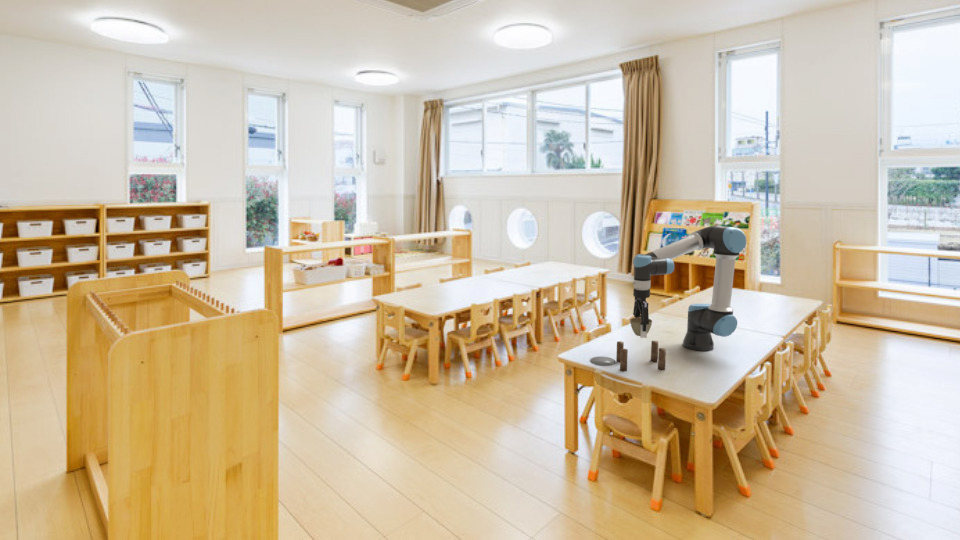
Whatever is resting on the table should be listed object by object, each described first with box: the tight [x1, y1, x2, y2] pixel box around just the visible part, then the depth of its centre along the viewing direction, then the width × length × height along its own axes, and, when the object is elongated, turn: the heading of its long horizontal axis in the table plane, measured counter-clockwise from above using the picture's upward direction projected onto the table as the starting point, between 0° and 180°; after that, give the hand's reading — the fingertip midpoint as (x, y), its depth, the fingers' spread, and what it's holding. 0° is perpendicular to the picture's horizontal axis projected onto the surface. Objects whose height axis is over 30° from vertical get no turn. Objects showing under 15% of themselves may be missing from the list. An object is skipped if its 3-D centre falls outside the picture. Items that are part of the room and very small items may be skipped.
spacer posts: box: [615, 340, 667, 372], centre depth 250 cm, size 21×15×10 cm
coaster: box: [590, 356, 617, 367], centre depth 258 cm, size 12×12×1 cm
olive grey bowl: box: [629, 317, 653, 337], centre depth 248 cm, size 10×10×7 cm
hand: (640, 334), depth 249 cm, fingers closed on olive grey bowl, 10 cm apart
